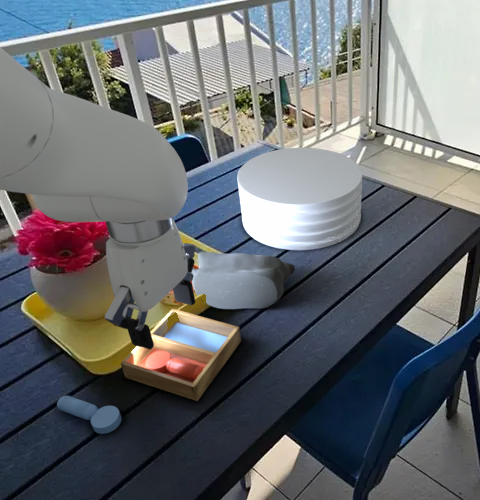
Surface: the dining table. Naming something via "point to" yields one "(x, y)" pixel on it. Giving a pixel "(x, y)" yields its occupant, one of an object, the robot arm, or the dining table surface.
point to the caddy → (185, 353)
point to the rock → (240, 279)
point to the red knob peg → (172, 365)
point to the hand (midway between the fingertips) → (165, 322)
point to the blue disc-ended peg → (92, 413)
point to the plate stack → (300, 198)
